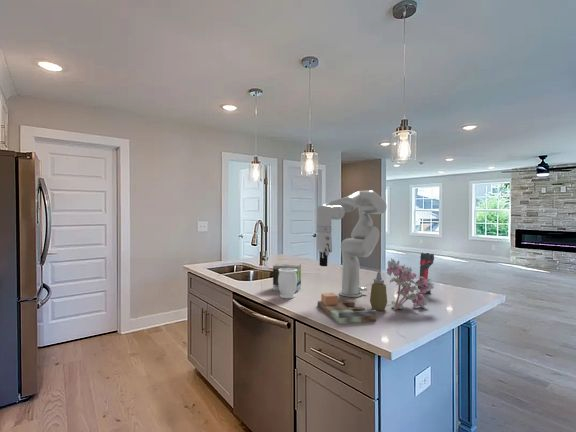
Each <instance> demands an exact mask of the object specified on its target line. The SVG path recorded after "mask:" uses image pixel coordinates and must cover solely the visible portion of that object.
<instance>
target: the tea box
mask: <svg viewBox="0 0 576 432" xmlns="http://www.w3.org/2000/svg"><path fill="white" fill-rule="evenodd" d="M280 268H295V269H297V272H296V274H297V286H296V291H295V293H297V292H299V291H300V290H301V289H302V288H301V287H302V264H300V263H299V264H298V263H295V264H294V263H276V264H275V265H273V266H272V273H273V274H272V289H273V291H279V292H280V290H279V284H278V276H279V271H278V269H280Z"/></svg>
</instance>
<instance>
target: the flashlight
mask: <svg viewBox="0 0 576 432" xmlns="http://www.w3.org/2000/svg"><path fill="white" fill-rule="evenodd" d="M419 258H420V260H419V265H420V266H419V277H424V278H425V280H427V279H429V269H430V267H431V266H432V265H433V264H434V261H435V255H434V253H429V252H426V253H424V252H421V253H420V257H419ZM419 280H420V281H422V280H421V279H420V278H419ZM417 288H418V289H421V288H422V287H420V286H417ZM431 291H432V290H431ZM431 291H427V292H426V293H425V294H430V293H429V292H431Z"/></svg>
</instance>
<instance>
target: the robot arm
mask: <svg viewBox="0 0 576 432" xmlns="http://www.w3.org/2000/svg"><path fill="white" fill-rule="evenodd" d="M354 210H358V215H359V217H358V218H359V219H358V221H357V223H356V224H355V226H354V227H353V229H352V230H351V233H350V234H351V235H350V236H351V238H350V237H349V238H344V239H343V240H342V242H341V244H340V250H341V258H342V260H341V261H342V266H341V268H342V269H341V271H342V272H341V274H342V276H341V281H342V282H341V290H339V291H338V292H339V293H338V294H339V295H340V296H343V297H347V298H359V297H362V295H363V293H362V292H367V291H368V288H367V286H365V287H363V286H360V266H361V265H360V260H359V257H360V258H361V257H362V258H368V257H370V255H372V253H373V251H374V249H375V247H376V246H377V244H378V243H379V240H380V230H379V228H378V227H377V226H374V225H373V224H374V222H373V219H372V217H371V215H382V214H384V213H386V211H387V203H386V201H385V199H383V197H381V196H380V194H378V193H377V192H375V191H374V190H357V191H354V192H353V193H350V194H349V195H347V196H345V197H341V198H338V199H335V200H330V201H328V202H326V203H324V204H322V205H318V206H316V233H317V237H316V250H317V251H318V255H319V256H318V257H319V266H320V267H328V259H329V255H330V253H332V252H333V241H332V240H333V238H332V224H333V223H332V221H333V220H336V221H337V220H339V221H340V220H342V219H343V218H344V217H345V213H350V212H352V211H354Z"/></svg>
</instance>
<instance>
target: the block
mask: <svg viewBox="0 0 576 432" xmlns="http://www.w3.org/2000/svg"><path fill="white" fill-rule="evenodd" d="M320 297H321V299H320V301H321V302H323V303H324V304H325V305H332V304H338V300H339V299H338V298H339V295H337V294H336V293H334V292H321V296H320Z"/></svg>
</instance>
